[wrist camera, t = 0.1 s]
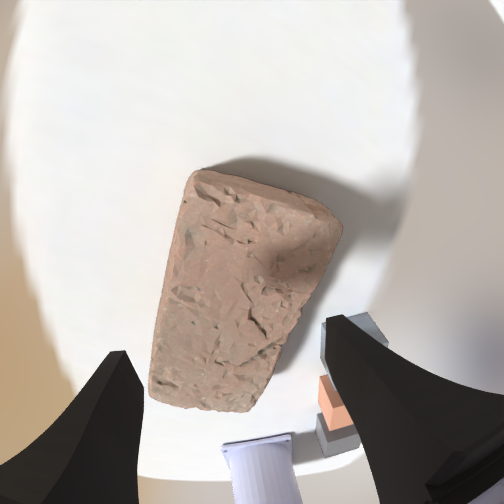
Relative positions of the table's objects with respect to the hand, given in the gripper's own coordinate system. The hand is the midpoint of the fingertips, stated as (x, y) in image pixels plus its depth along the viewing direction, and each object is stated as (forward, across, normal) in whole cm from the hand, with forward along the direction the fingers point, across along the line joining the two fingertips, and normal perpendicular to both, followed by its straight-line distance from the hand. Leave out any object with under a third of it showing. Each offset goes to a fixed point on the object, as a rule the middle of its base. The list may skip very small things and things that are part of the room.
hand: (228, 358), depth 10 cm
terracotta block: (+10, -9, +16) cm, 21 cm away
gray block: (+10, -9, +23) cm, 27 cm away
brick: (+11, 0, +4) cm, 11 cm away
